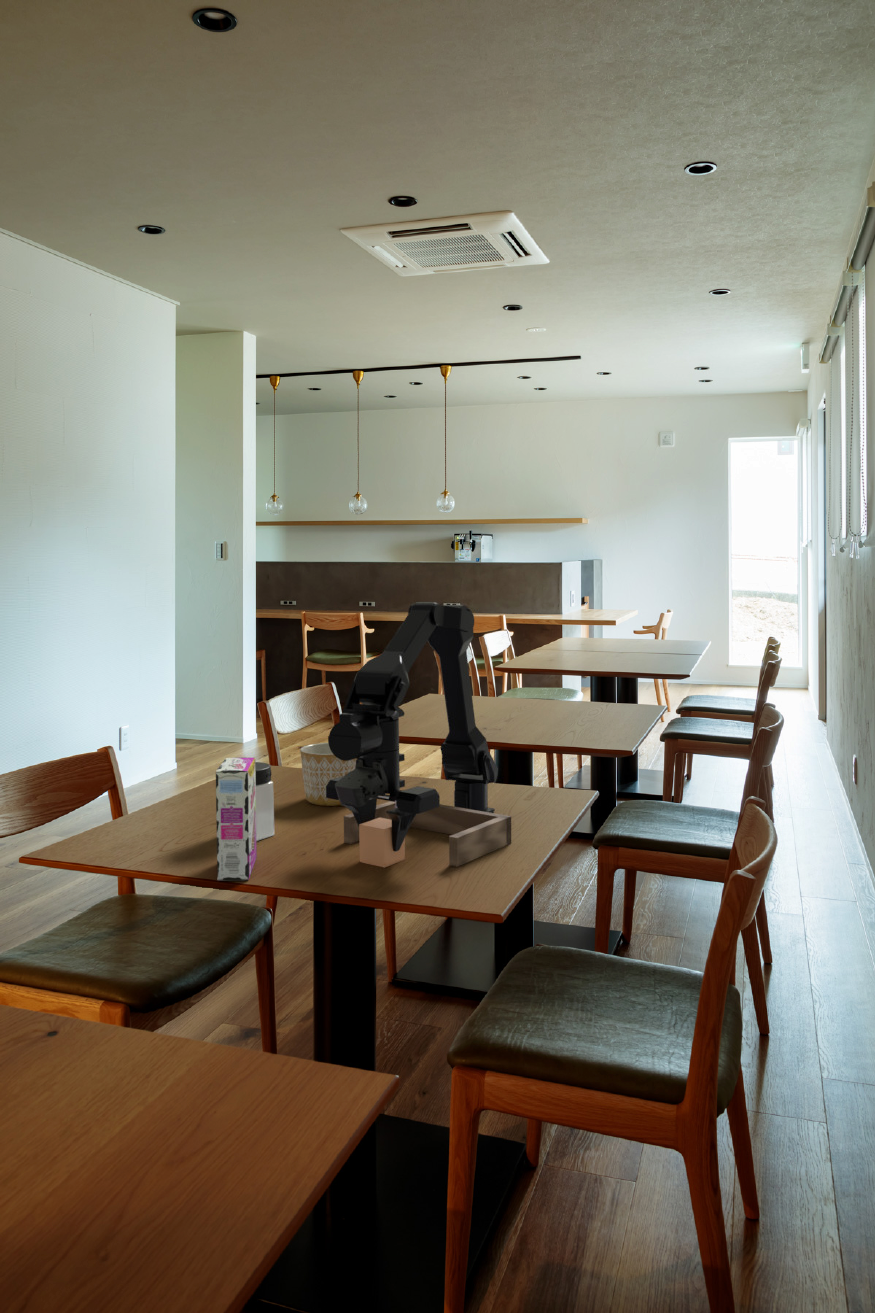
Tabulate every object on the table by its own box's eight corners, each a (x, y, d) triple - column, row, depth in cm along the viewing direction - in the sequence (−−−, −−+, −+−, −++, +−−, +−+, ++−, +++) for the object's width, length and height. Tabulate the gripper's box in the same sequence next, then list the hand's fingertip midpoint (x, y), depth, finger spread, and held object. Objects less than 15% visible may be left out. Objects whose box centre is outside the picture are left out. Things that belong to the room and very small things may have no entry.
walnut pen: (402, 822, 173) (401, 797, 172) (511, 843, 159) (511, 816, 159) (344, 842, 160) (343, 816, 160) (457, 866, 147) (457, 838, 146)
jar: (279, 838, 163) (277, 768, 162) (231, 845, 160) (229, 773, 158) (264, 826, 171) (263, 759, 170) (219, 832, 168) (216, 764, 166)
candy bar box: (251, 881, 141) (248, 770, 140) (216, 882, 141) (213, 771, 139) (259, 858, 152) (256, 755, 151) (226, 859, 152) (223, 756, 150)
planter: (377, 802, 188) (377, 749, 187) (319, 811, 181) (318, 756, 180) (346, 790, 199) (345, 740, 198) (290, 798, 192) (289, 746, 191)
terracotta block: (380, 854, 154) (379, 817, 153) (404, 859, 151) (404, 822, 150) (359, 862, 150) (359, 824, 149) (384, 867, 147) (384, 829, 146)
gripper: (300, 751, 148) (302, 850, 149) (395, 764, 137) (396, 872, 138) (348, 740, 157) (350, 834, 158) (441, 752, 146) (442, 853, 147)
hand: (382, 847), depth 150 cm, fingers open, 5 cm apart
